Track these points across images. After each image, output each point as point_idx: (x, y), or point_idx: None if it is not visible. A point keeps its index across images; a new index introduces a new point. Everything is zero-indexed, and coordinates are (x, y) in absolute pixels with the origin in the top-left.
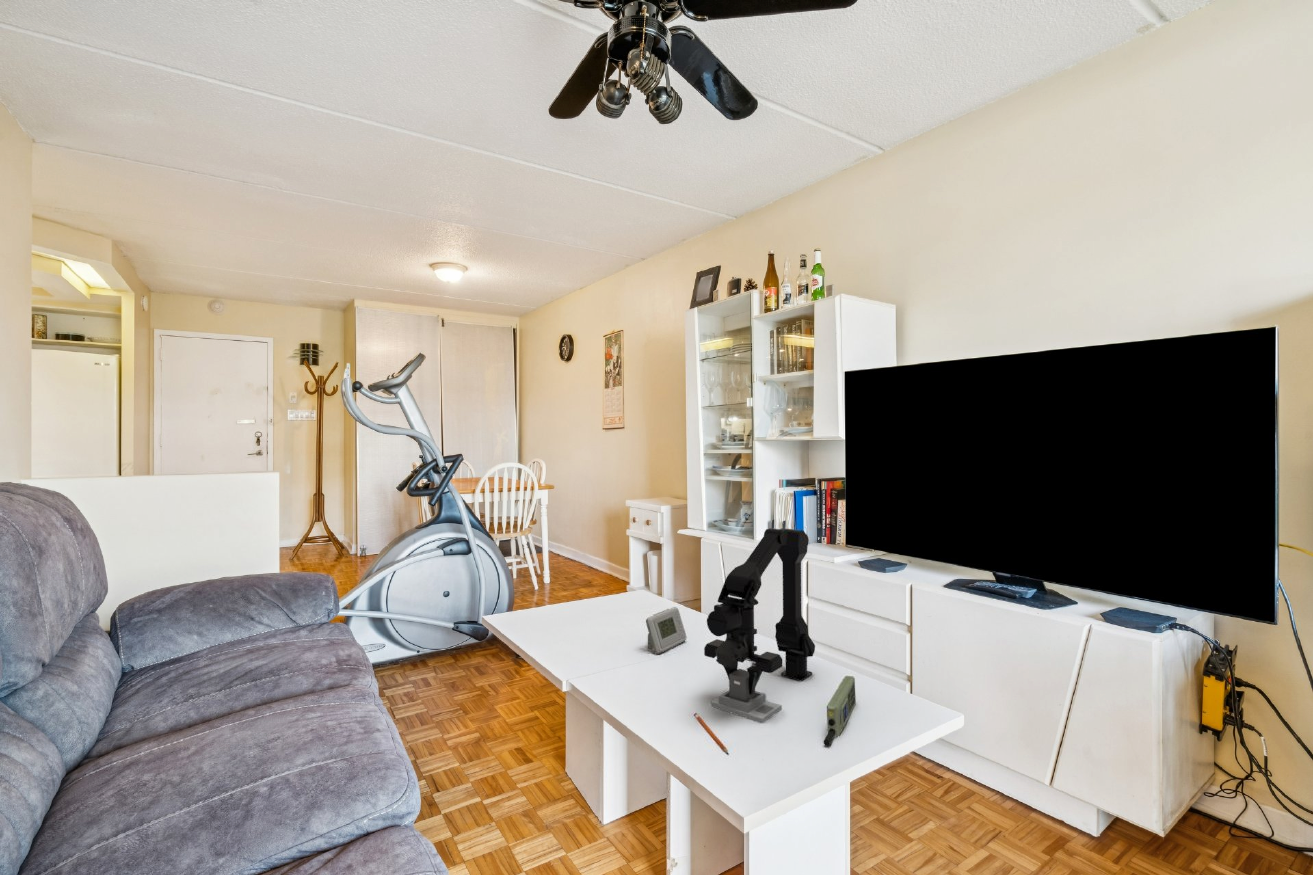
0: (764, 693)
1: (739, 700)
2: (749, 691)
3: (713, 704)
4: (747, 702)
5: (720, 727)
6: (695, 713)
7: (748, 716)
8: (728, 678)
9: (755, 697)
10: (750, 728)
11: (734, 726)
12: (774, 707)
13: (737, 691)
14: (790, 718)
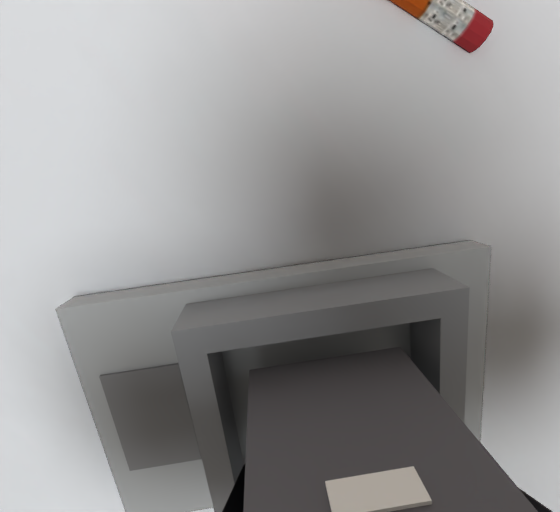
0: None
1: None
2: None
3: (461, 247)
4: None
5: (214, 17)
6: (486, 26)
7: (177, 286)
8: (543, 505)
9: None
10: (63, 178)
11: (157, 115)
12: (133, 475)
13: (338, 404)
14: (22, 455)
